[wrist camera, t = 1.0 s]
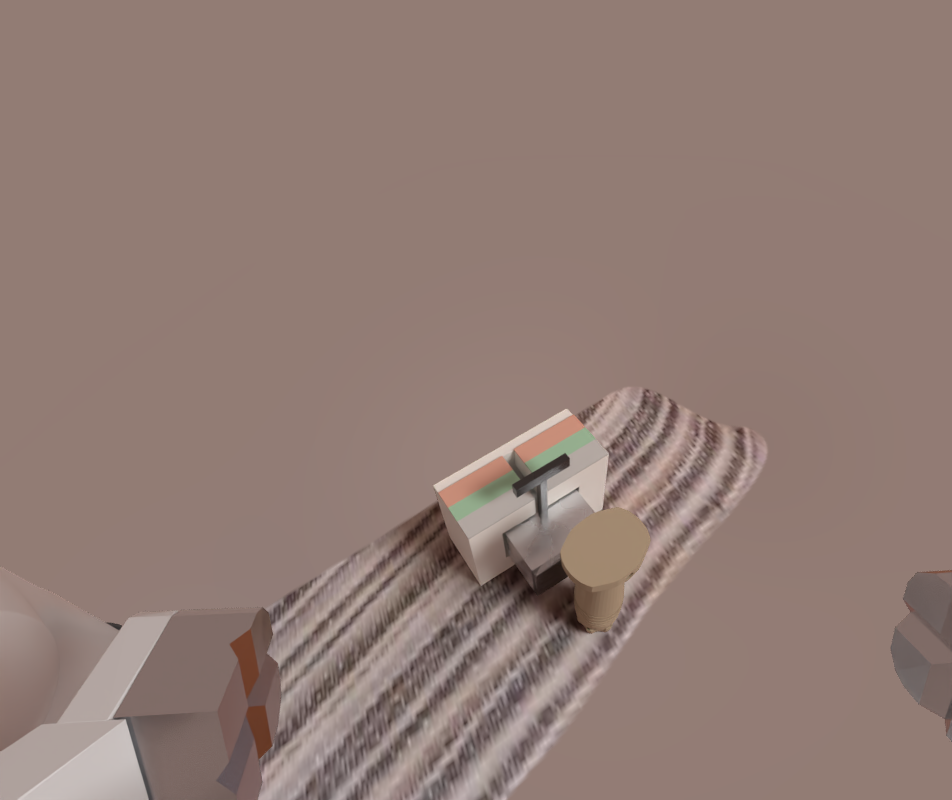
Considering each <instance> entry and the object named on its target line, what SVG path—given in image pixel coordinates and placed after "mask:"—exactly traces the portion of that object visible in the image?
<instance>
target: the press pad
mask: <svg viewBox="0 0 952 800" xmlns="http://www.w3.org/2000/svg"><path fill="white" fill-rule="evenodd" d="M569 466H570V458H569V457H568V455H567V454H566V453H564V454H563V455H561V456H559V457H558V458H556V459H554V460H552V461H551V462H549V463H547V464H546V465H544V466H542V467H541V468H539V469H537V470H536V471H534V472H532V473H531V474H529V475H527V476H526V477H524V478H522V479H521V480H519V481H517V482H515V483H514V484H512V489H513V493H514V494H515V496H516V497H517V498H518V497H519V496H521V495H523V494H524V493H526V492H528V491H529V490H531V489H533V488H534V487H536V486H537V501H538V513H536V514H535V515H533V516H531V517H530V518H528V519H526V520H525V521H523V522H522V523H520V524H518V525H517V526H515V527H513V528H512V529H510V530H509V531H507V532H505V536H506V542H507V549H508V554H509V556H510V557H511V559H512V560H513V561H514V563H515V564H516V566H517V567H518V569H519V570H520V572H521V573H522V574H523V576H524V577H525V579H526V580H527V582H528V583H529V585H530V586H531V587H532V589H533V590H534V592H535V593H536V595H537V596H539V595H540V594H542V593H543V592H545V591H546V590H548V589H549V588H551V587H553V586H554V585H556V584H557V583H559V582H560V581H562V580H563V579H565V578H566V577H568V576H567V574H566V573H565V571H564V569H563V567H562V563H561V557H560V551H561V549H562V546H563V544H564V542H565V540H566V538H567V536H568V534H569V533H570V531H571V530H572V529H573V528H574V527H575V526H576V525H577V524H578V523H580V522H581V521H582V520H584V519H585V518H586V517H588V516H589V515H591V514H593V513H595V512H594V510H593V509H592V508H591V507H590V506H589V504H588V503H587V502H586V501H585V500H584V498H583V497H582V496H581V495H580V494H579V492H578V491H577V490H576V489H575V490H574V491H572V492H570V493H569V494H567V495H565V496H564V497H562V498H561V499H559V500H557V501H556V502H554V503H552V504H551V505H549V506H548V501H547V480H548V479H549V478H551V477H553V476H554V475H556V474H558V473H559V472H561V471H563V470H564V469H566V468H568V467H569Z"/></svg>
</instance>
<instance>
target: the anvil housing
mask: <svg viewBox="0 0 952 800" xmlns="http://www.w3.org/2000/svg"><path fill="white" fill-rule="evenodd" d="M564 453H566V454H567V455H568V457H569V458H570V466H569V467H568V468H566V469H564V470H563V471H561V472H559V473H558V474H556V475H554V476H553V477H551V478H549V479H548V480H547V501H548V506H549V505H551V504H552V503H554V502H556V501H557V500H559V499H561V498H562V497H564V496H565V495H567V494H569V493H570V492H572V491H574V490H575V489H576V490H577V491H578V492H579V494H580V495H581V496H582V497H583V498H584V500H585V501H586V502H587V503H588V504H589V506H590V507H591V508H592V509H593V510H594V512H598V511H600V510H602V507H603V499H604V490H605V482H606V473H607V464H608V456H609V453H608V452H607V451H606V450H605V449H604V447H603V446H602V445H601V444H600V443H599V442H598V441H597V440H596V439H595V438H594V436H593V435H592V434H591V433H590V432H589V431H588V430H587V429H586V428H585V427H584V426H583V424H582V423H581V422H580V421H579V420H578V419H577V418H576V417H575V416H574V415H572V414H571V413H570V412H569V410H568V409H565V410H563V411H562V412H560V413H558V414H556V415H555V416H553V417H551V418H550V419H548V420H546V421H544V422H543V423H541V424H539V425H537V426H535V427H534V428H532V429H530V430H529V431H527V432H525V433H523V434H522V435H520V436H518V437H516V438H515V439H513V440H511V441H509V442H508V443H506V444H504V445H502V446H501V447H499V448H497V449H496V450H494V451H492V452H490V453H488V454H487V455H485V456H483V457H481V458H480V459H478V460H476V461H474V462H473V463H471V464H469V465H468V466H466V467H464V468H462V469H461V470H459V471H457V472H455V473H454V474H452V475H450V476H449V477H447V478H445V479H443V480H441V481H440V482H438V483H436V484H434V485H433V487H434V490H435V493H436V496H437V500H438V503H439V506H440V509H441V512H442V515H443V518H444V521H445V525H446V528H447V531H448V534H449V537H450V538H451V540H452V541H453V543H454V544H455V546H456V548H457V549H458V551H459V552H460V554H461V555H462V557H463V559H464V560H465V562H466V563H467V565H468V566H469V568H470V570H471V571H472V573H473V574H474V576H475V577H476V579H477V581H478V582H479V584H480V585H481V586H482V585H483V584H485V583H486V582H488V581H489V580H491V579H493V578H494V577H496V576H497V575H499V574H500V573H502V572H504V571H505V570H507V569H508V568H510V567H512V566H513V565H515V563H514V561H513V560H512V559H511V557H510V556H509V554H508V549H507V542H506V536H505V532H507V531H509V530H510V529H512V528H513V527H515V526H517V525H518V524H520V523H522V522H523V521H525V520H526V519H528V518H530V517H531V516H533V515H535V514H536V513H538V501H537V486H536V487H534V488H533V489H531V490H529V491H528V492H526V493H524V494H523V495H521V496H519V497H518V498H517V497H516V496H515V494H514V493H513V489H512V484H514V483H515V482H517V481H519V480H521V479H522V478H524V477H526V476H527V475H529V474H531V473H532V472H534V471H536V470H537V469H539V468H541V467H542V466H544V465H546V464H547V463H549V462H551V461H552V460H554V459H556V458H558V457H559V456H561V455H563V454H564Z"/></svg>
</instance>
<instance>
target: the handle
mask: <svg viewBox="0 0 952 800" xmlns="http://www.w3.org/2000/svg"><path fill="white" fill-rule="evenodd" d="M650 541H651V540H650V535H649V533H648V530H647V528H646V527H645V525H644V524H643V523H642V522H641V521H640V519H639V518H637V517H636V516H635V515H634V514H632V513H631V512H629V511H627V510H625V509H622V508H618V507H616V508H611V509H607V510H602V511H598V512H595V513H593V514H591V515H589V516H588V517H586V518H585V519H584V520H582V521H581V522H580V523H578V524H577V525H576V526H575V527H574V528H573V529H572V530H571V531H570V533H569V534H568V536H567V538H566V540H565V542H564V544H563V546H562V549H561V551H560V557H561V563H562V567H563V569H564V571H565V573H566V574H567V576H568V577H569V578H570V580H571V581H572V582H574V583H575V588H574V605H575V610H576V616H577V620H578V622H579V623H581V624H583V625H584V627H585V628H586V631H587V632H588V633H591V634H592V633H594V632H597V631H603V632H607V631H608V630H610V628H611V627H612V624H613V622H614V621H615V620H616V618H617V616H618V614H619V612H620V610H621V606H622V603H623V598H624V582H626V581H628V580H629V579H630V578H631V577H632V576H633V575H634V574H635V573H636V572H637V571H638V570H639V568H640V566H641V564H642V562H643V560H644V557H645V555H646V552H647V550H648V547H649V544H650Z"/></svg>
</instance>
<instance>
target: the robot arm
mask: <svg viewBox="0 0 952 800" xmlns="http://www.w3.org/2000/svg"><path fill="white" fill-rule="evenodd" d="M903 600H904V601H905V603H906V605H907V607H908V608H909V610H910V613H909V614H908V615H907V616H906V617H905V618H904V619H903V620H902V621H901V622H900V623H899V624H898V625H897V626H896V627H895V631H894V635H893V639H892V644H891V653H892V657H893V662H894V667H895V671H896V673H897V675H898V676H899V678H900V680H901V682H902V684H903V686H904V687H905V689H906V690H907V691H908V692H909V693H910V695H911V696H912V697H913V698H914V699H915V700H916V702H918V704H920V705H921V706H923V707H924V708H926V709H928V710H930V711H931V712H933V713H935V714H937V715H938V716H940V717H942V718H944V719H945V726H946V736H947V737H948V738H949V739H950V740H951V741H952V570H945V571H929V572H917V573H916V574H915V575H914V576H913V577H912V578H911V579H910V580H909V581H908V583H907V587H906V590H905V594H904V597H903ZM272 636H273V632H272V627H271V622H270V617H269V613H268V612H267V611H266V610H265V609H264V608H263V607H261V608H260V607H257V608H229V609H228V608H225V609H194V610H180V611H153V612H138V613H137V614H134V615H133V616H131V617H129V618H128V619H127V620H126V621H125V623H124V625H123V626H121V625H119V624H114V623H106V622H103V621H102V620H100V619H98V618H96V617H95V616H93V615H91V614H89V613H88V612H86V611H84V610H82V609H80V608H79V607H77V606H75V605H73V604H72V603H70V602H68V601H67V600H65V599H63V598H61V597H59V596H58V595H56V594H54V593H52V592H50V591H48V590H45V589H42V588H40V587H38V586H36V585H34V584H32V583H30V582H29V581H27V580H25V579H23V578H21V577H19V576H17V575H15V574H14V573H12V572H10V571H8V570H7V569H5V568H3V567H1V566H0V800H257V799H258V796H259V792H260V789H261V785H262V776H261V771H260V766H259V759H260V758H261V757H262V756H263V755H264V754H265V753H266V752H267V751H268V750H269V749H270V748H271V747H272V746H273V742H274V738H275V734H276V730H277V727H278V721H279V712H280V703H281V682H280V673H279V667H278V663H277V662H276V661H275V660H274V659H273V658H272V657H270V656H269V655H268V654H267V651H268V648H269V645H270V642H271V639H272Z"/></svg>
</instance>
